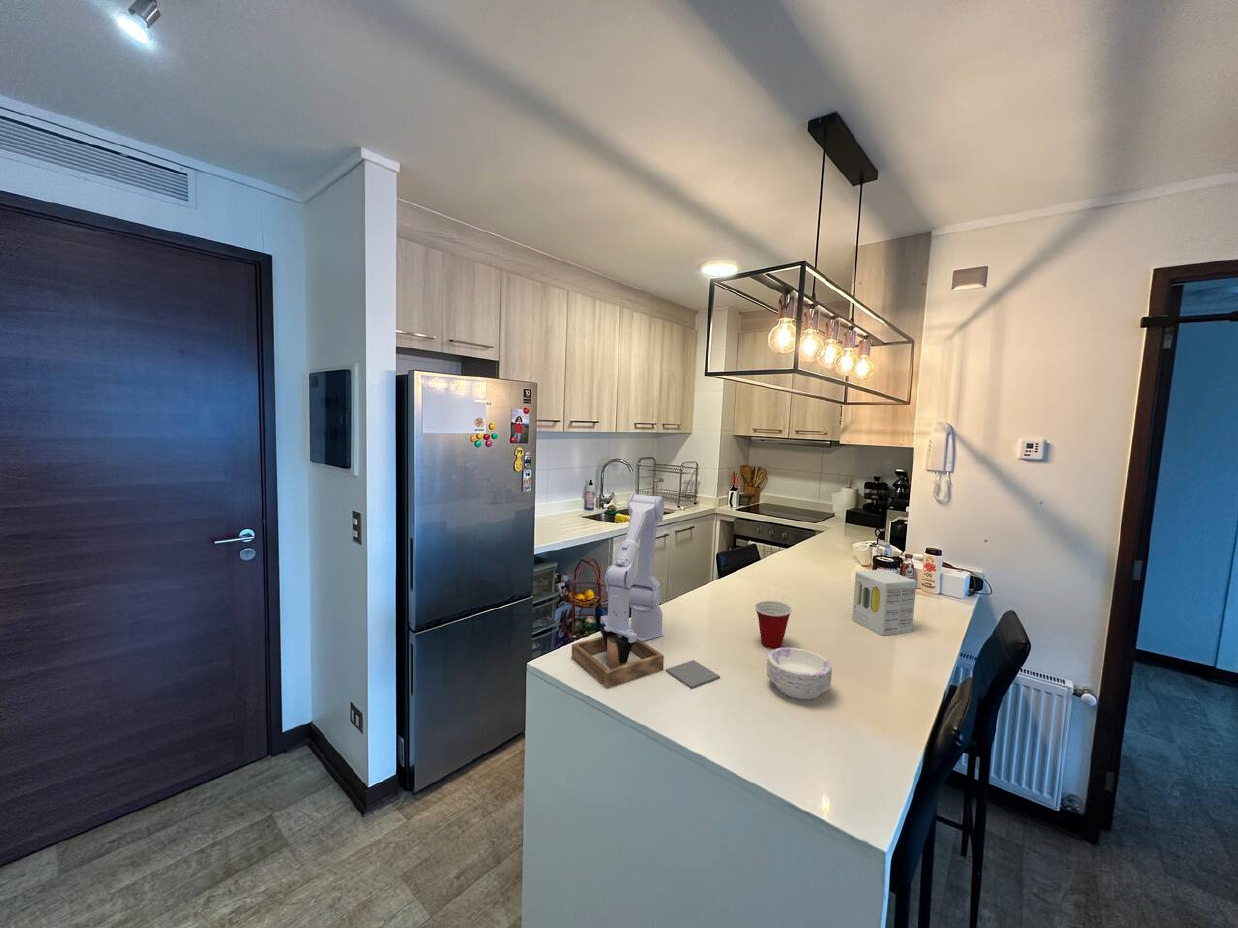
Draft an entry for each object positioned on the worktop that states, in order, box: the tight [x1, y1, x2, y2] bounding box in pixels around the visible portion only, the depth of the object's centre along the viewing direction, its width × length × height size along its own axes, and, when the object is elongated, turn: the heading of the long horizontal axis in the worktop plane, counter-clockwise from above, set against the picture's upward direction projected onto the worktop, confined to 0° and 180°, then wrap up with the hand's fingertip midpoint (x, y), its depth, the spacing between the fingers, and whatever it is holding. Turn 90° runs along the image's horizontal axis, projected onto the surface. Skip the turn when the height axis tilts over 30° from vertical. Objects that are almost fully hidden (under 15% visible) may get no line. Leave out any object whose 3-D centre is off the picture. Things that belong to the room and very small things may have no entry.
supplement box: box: [851, 568, 917, 636], centre depth 164 cm, size 13×13×18 cm
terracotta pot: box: [606, 634, 628, 669], centre depth 132 cm, size 6×6×7 cm
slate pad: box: [665, 659, 721, 690], centre depth 128 cm, size 10×10×1 cm
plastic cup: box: [754, 600, 793, 650], centre depth 147 cm, size 11×11×12 cm
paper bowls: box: [766, 647, 833, 701], centre depth 122 cm, size 15×15×8 cm
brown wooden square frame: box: [571, 634, 665, 689], centre depth 132 cm, size 18×18×4 cm
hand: (616, 657), depth 132 cm, fingers closed on terracotta pot, 5 cm apart
